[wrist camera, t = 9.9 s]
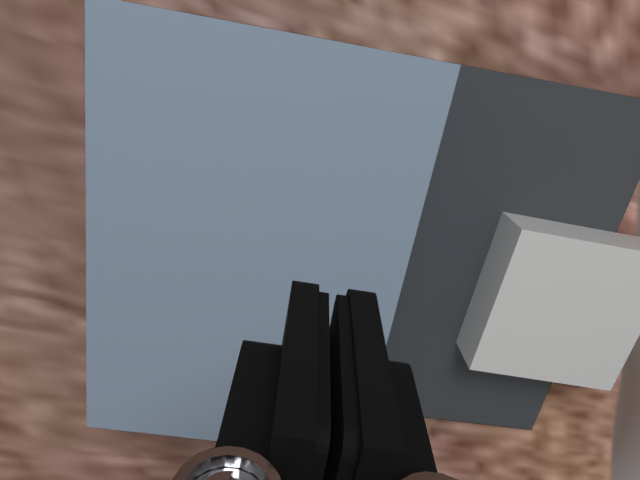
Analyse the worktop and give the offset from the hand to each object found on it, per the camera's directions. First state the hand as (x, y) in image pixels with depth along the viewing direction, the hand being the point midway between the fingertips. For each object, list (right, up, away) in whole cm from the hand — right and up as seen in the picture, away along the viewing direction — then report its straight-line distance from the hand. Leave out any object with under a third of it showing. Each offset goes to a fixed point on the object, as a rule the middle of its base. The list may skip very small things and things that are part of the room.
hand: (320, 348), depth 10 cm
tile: (+12, -2, +15) cm, 19 cm away
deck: (-3, +2, +16) cm, 16 cm away
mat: (+9, 0, +17) cm, 19 cm away
